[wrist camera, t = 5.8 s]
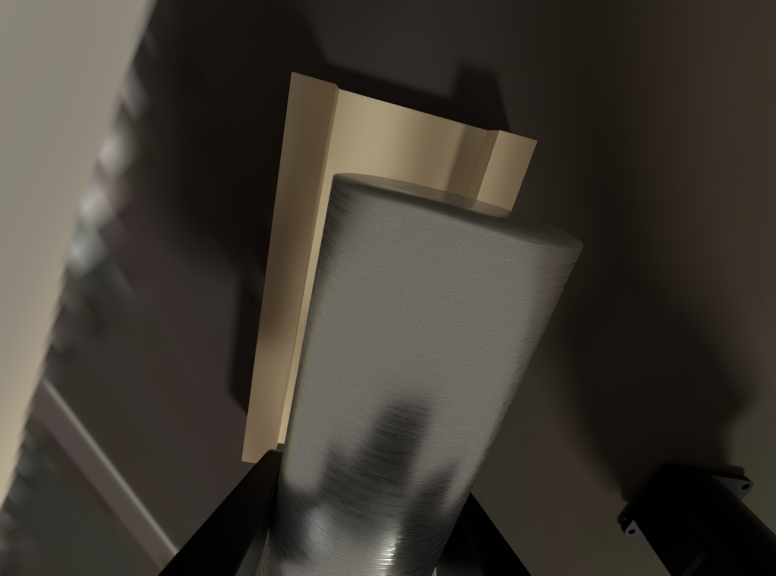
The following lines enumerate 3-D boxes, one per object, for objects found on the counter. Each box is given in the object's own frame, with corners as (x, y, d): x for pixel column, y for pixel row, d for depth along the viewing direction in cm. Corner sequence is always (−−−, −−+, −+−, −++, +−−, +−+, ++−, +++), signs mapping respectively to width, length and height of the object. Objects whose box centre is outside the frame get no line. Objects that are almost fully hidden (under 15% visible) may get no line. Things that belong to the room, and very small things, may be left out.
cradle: (513, 139, 16) (537, 140, 14) (405, 448, 22) (409, 484, 20) (304, 81, 15) (291, 71, 12) (255, 425, 21) (241, 460, 19)
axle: (343, 165, 8) (314, 193, 4) (522, 210, 8) (648, 273, 4) (264, 578, 13) (219, 761, 9) (377, 590, 13) (378, 768, 9)
